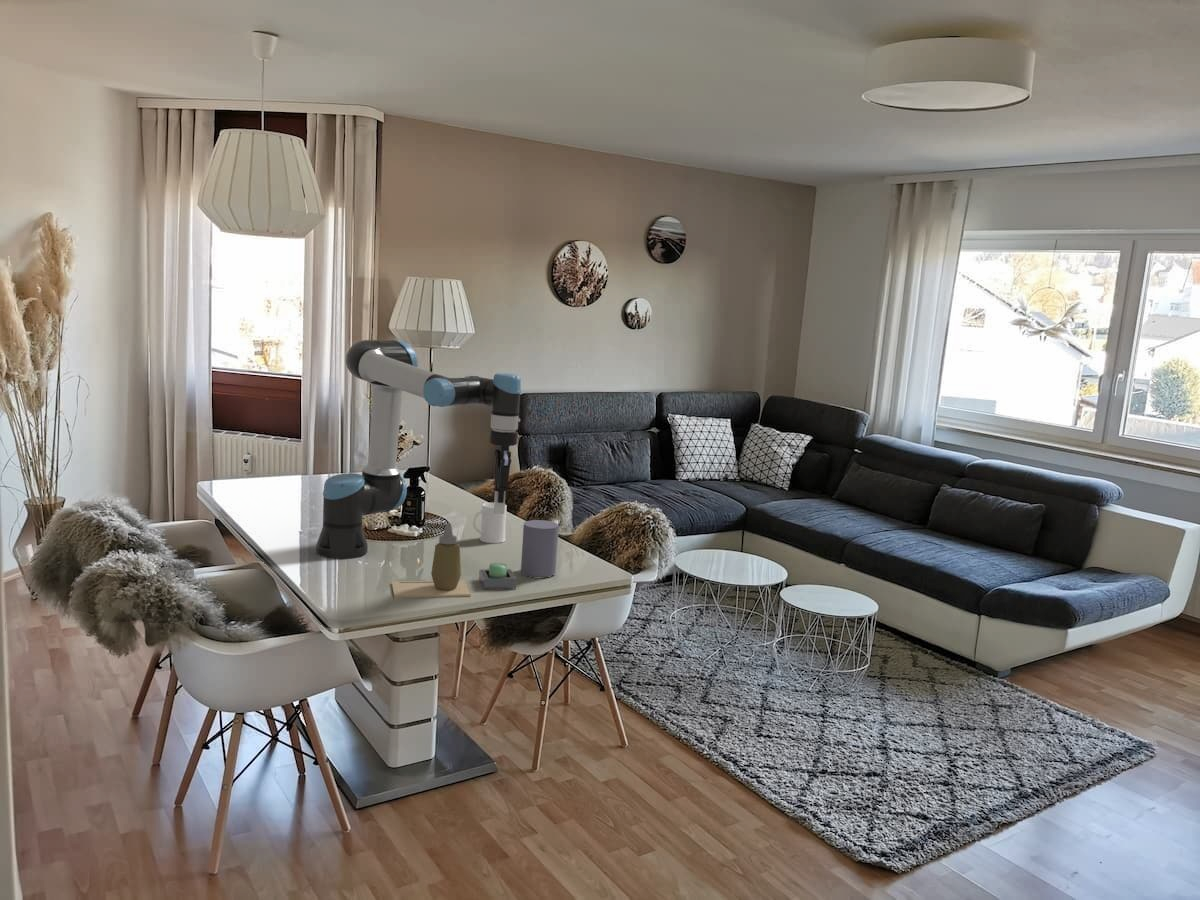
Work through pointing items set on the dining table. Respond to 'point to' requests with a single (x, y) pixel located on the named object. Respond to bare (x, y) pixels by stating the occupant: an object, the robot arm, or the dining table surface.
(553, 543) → the container
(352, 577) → the dining table surface
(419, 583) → the sketch pad
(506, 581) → the button housing
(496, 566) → the button
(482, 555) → the dining table surface
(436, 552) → the squeeze bottle
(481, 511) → the mug
